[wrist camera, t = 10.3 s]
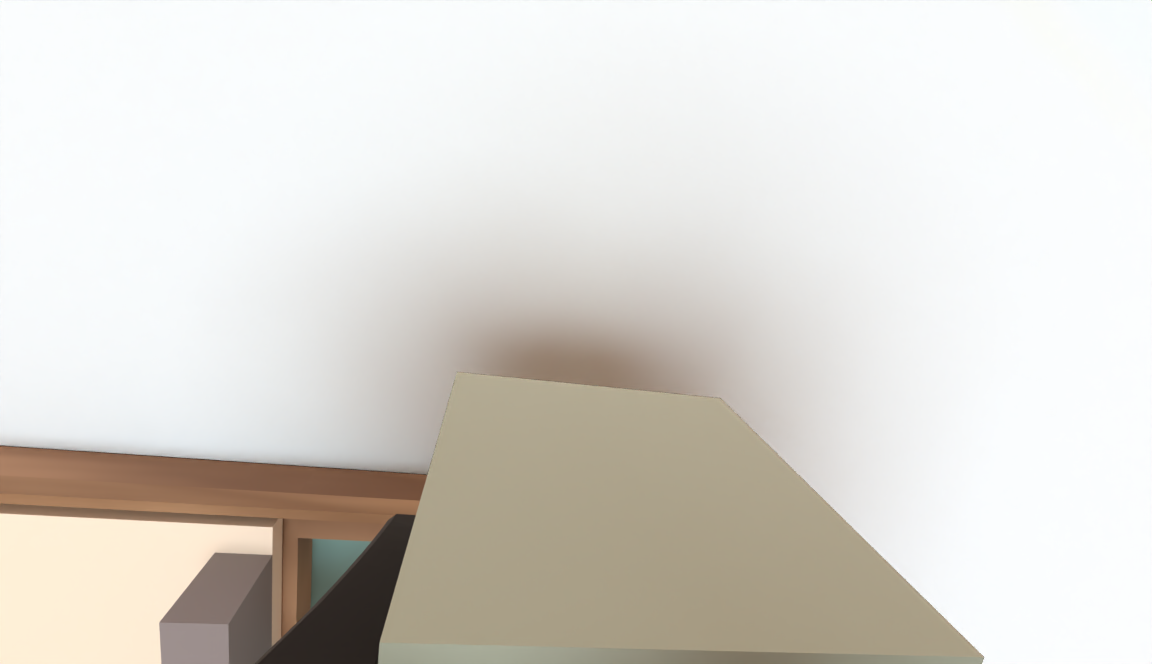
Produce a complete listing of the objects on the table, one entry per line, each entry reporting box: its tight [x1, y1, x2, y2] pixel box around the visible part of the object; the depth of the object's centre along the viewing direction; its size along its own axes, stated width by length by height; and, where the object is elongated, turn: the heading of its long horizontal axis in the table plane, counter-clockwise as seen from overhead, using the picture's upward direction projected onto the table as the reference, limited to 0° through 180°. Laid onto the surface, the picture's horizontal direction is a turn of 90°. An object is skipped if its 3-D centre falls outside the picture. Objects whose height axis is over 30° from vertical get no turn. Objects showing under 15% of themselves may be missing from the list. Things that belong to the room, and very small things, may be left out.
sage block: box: [378, 372, 984, 664], centre depth 8 cm, size 5×5×6 cm
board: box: [0, 446, 427, 638], centre depth 17 cm, size 11×27×2 cm, turn 82°
